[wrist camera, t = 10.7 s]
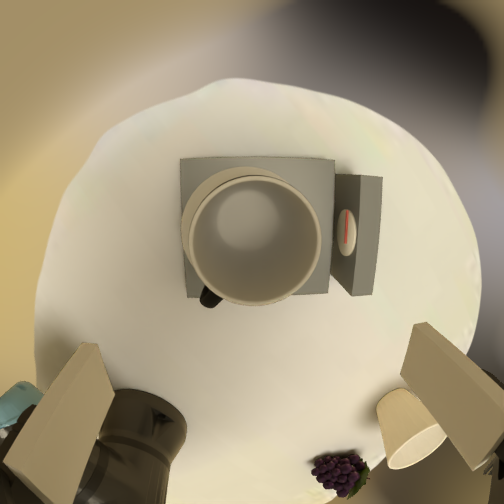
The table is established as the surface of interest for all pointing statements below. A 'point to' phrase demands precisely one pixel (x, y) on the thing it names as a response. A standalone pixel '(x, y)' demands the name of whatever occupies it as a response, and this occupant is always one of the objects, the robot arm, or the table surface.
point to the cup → (407, 429)
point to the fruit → (341, 474)
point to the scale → (322, 200)
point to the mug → (253, 241)
